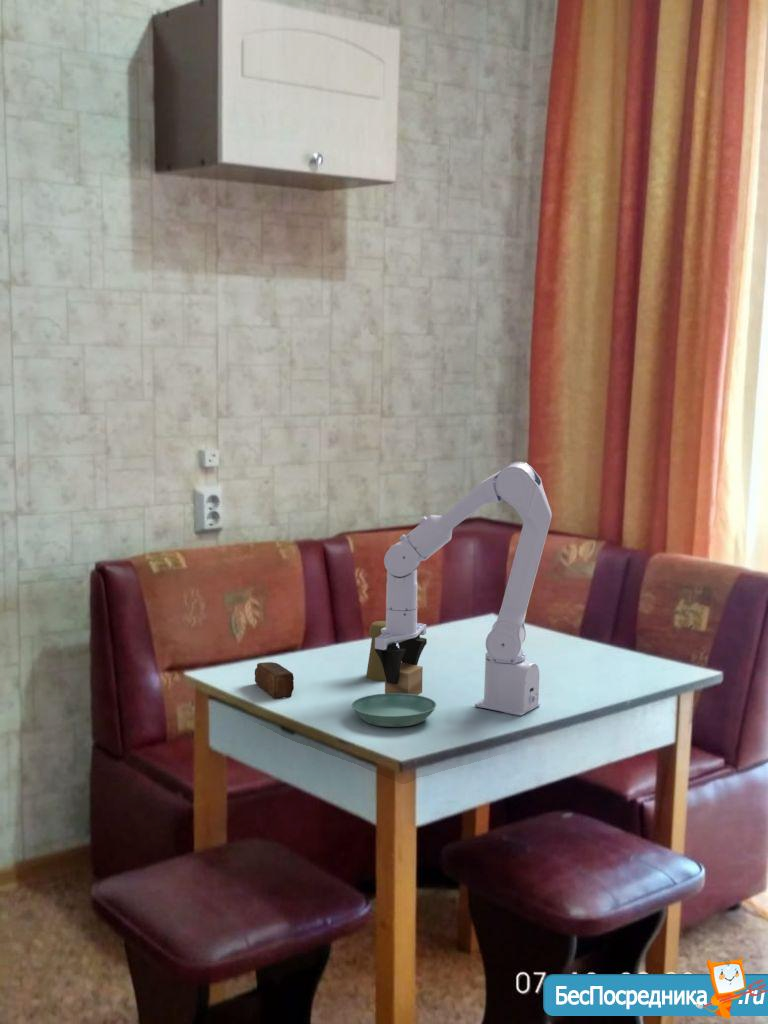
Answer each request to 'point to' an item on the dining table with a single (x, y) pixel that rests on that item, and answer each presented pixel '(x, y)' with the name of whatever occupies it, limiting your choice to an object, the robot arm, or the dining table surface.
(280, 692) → the brick
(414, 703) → the saucer
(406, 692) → the walnut block
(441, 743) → the dining table surface
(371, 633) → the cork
